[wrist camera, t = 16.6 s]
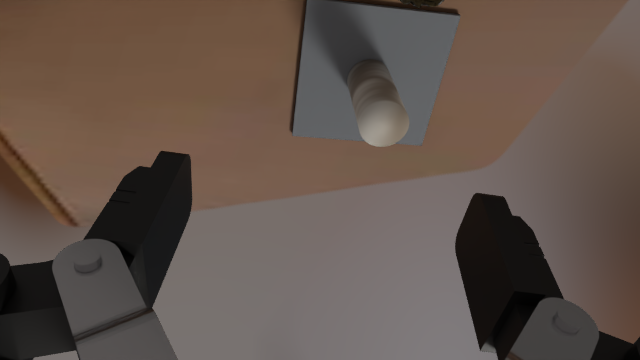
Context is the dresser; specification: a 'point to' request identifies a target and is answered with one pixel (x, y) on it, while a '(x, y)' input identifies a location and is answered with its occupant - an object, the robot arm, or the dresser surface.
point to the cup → (422, 2)
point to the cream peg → (377, 104)
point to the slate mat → (361, 44)
